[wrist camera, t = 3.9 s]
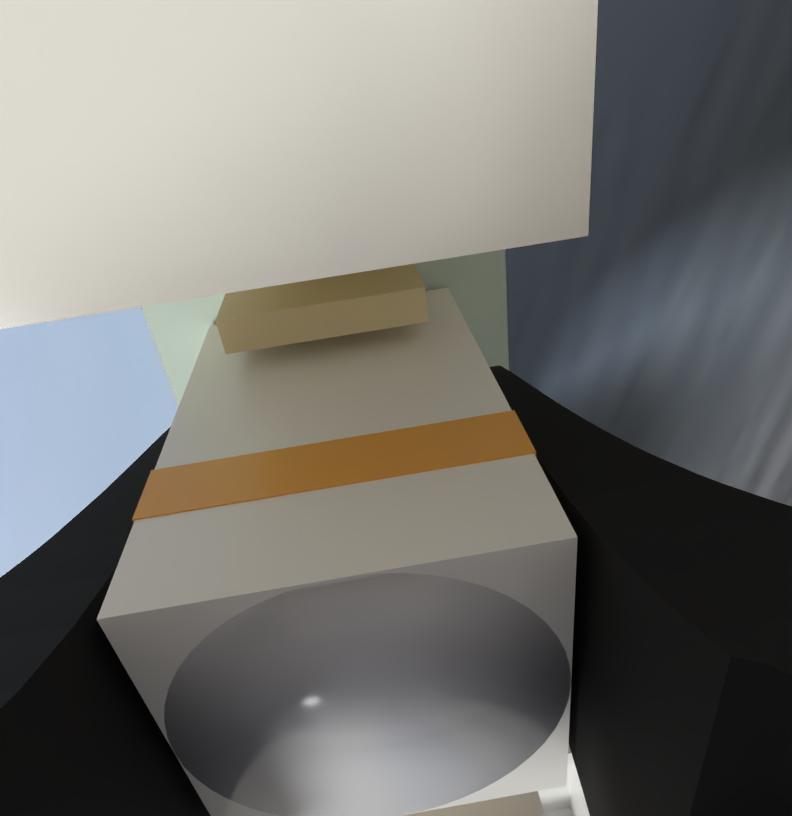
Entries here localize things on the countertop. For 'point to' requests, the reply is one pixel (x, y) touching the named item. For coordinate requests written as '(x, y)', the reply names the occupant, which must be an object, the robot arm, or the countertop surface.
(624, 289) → the countertop surface
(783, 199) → the countertop surface
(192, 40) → the block
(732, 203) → the countertop surface
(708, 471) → the countertop surface
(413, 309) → the fuse block
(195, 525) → the block
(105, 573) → the robot arm
